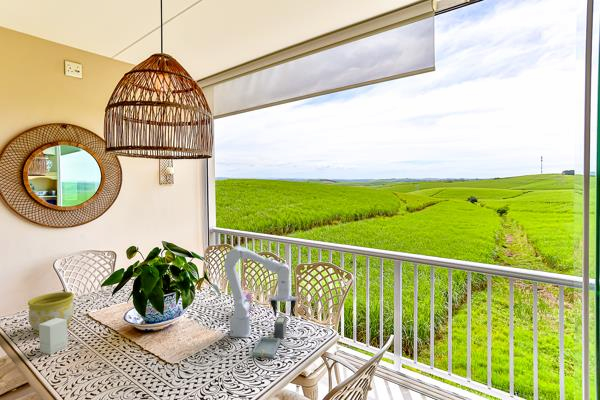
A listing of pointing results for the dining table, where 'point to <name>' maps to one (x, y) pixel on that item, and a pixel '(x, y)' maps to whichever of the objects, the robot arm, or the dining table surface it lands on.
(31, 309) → the flowerpot
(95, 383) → the dining table surface
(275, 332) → the block
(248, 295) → the box
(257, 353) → the pin tray
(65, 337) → the supplement box
